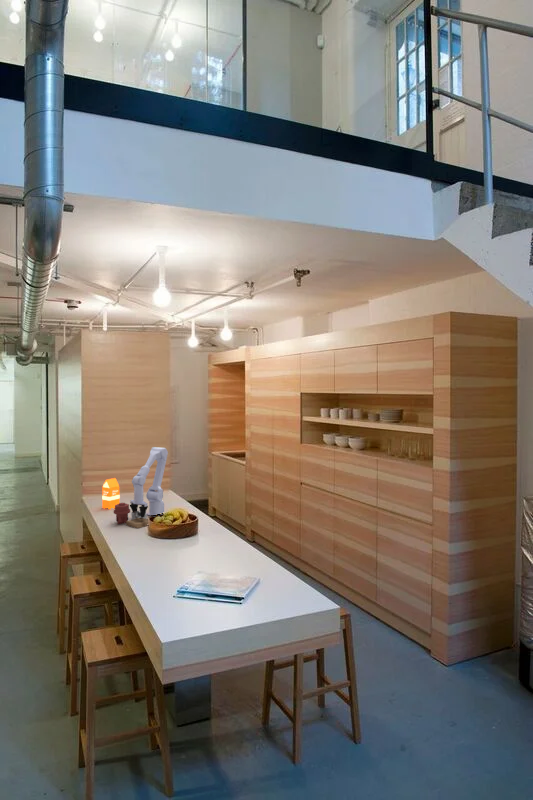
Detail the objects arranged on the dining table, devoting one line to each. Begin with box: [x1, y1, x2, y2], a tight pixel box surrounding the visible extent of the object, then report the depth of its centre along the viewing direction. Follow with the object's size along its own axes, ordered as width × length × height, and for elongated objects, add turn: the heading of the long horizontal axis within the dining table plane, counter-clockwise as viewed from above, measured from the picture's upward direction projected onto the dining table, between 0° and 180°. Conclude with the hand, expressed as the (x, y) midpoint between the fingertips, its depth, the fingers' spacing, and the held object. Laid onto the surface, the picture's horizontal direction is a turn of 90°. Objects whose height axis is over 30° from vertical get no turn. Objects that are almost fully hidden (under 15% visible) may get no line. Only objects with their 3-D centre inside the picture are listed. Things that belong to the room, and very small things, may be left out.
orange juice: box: [101, 477, 121, 510], centre depth 364 cm, size 8×9×20 cm
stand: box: [125, 517, 149, 529], centre depth 320 cm, size 11×11×2 cm
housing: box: [131, 509, 147, 520], centre depth 331 cm, size 8×4×6 cm, turn 142°
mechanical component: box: [113, 502, 131, 525], centre depth 324 cm, size 12×10×10 cm
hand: (138, 516), depth 331 cm, fingers open, 7 cm apart
